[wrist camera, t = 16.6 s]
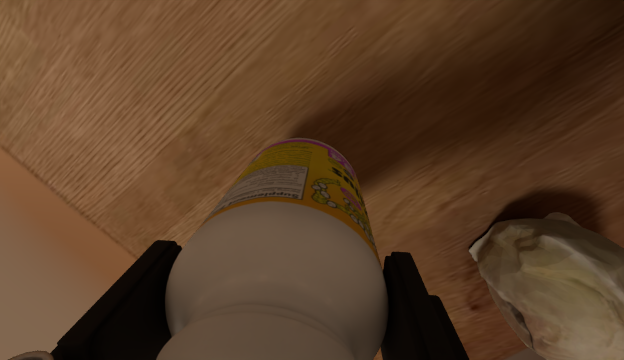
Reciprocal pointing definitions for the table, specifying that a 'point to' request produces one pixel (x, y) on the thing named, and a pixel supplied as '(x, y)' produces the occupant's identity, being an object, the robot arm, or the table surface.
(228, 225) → the supplement bottle
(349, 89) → the table surface
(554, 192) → the table surface
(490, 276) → the cream hollow lumpy ball
